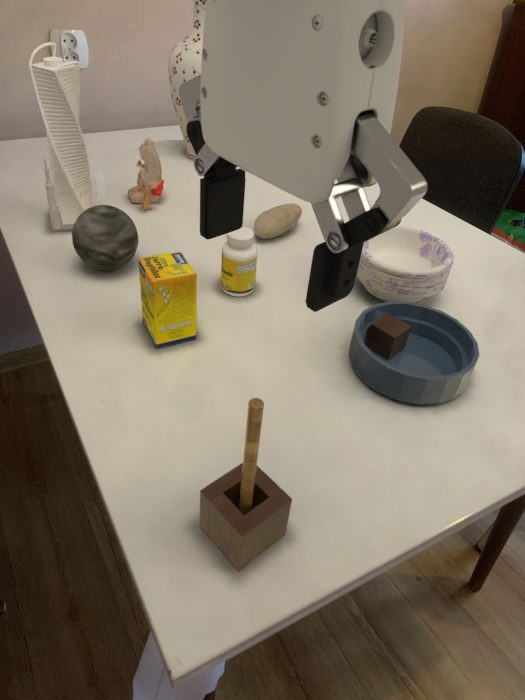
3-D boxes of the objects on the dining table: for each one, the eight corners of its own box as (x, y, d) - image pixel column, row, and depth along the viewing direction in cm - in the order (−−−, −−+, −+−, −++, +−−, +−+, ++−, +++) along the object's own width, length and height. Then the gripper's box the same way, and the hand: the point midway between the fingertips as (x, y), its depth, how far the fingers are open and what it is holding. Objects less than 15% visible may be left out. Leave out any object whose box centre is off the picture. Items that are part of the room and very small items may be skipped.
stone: (242, 226, 96) (274, 186, 101) (255, 254, 100) (284, 214, 106) (269, 226, 92) (300, 185, 98) (281, 255, 96) (310, 214, 102)
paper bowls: (331, 270, 92) (339, 228, 87) (407, 259, 97) (418, 219, 92) (376, 323, 81) (389, 278, 76) (458, 308, 86) (475, 265, 81)
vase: (198, 172, 119) (198, -18, 96) (156, 149, 127) (148, -31, 105) (252, 158, 128) (265, -19, 105) (210, 137, 136) (213, -31, 114)
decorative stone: (92, 246, 91) (84, 189, 85) (148, 255, 91) (145, 199, 84) (65, 276, 84) (54, 217, 77) (127, 287, 83) (121, 228, 77)
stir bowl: (488, 372, 74) (502, 345, 71) (420, 427, 66) (432, 398, 62) (395, 315, 83) (403, 288, 80) (324, 357, 74) (330, 328, 71)
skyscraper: (52, 210, 100) (21, 39, 82) (97, 208, 102) (77, 41, 84) (51, 232, 94) (18, 53, 76) (100, 229, 96) (78, 54, 78)
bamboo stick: (251, 531, 53) (267, 404, 41) (242, 538, 52) (255, 410, 41) (243, 523, 54) (257, 395, 42) (234, 529, 53) (245, 401, 41)
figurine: (126, 190, 109) (131, 129, 102) (160, 195, 111) (167, 135, 104) (127, 209, 102) (133, 144, 95) (163, 213, 104) (171, 150, 97)
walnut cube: (404, 348, 76) (411, 326, 73) (388, 360, 74) (395, 338, 71) (381, 334, 78) (387, 312, 75) (364, 346, 76) (370, 323, 73)
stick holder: (285, 534, 53) (292, 499, 49) (238, 571, 50) (242, 536, 46) (245, 494, 56) (249, 457, 52) (199, 526, 53) (199, 490, 49)
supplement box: (142, 324, 76) (136, 257, 69) (181, 315, 79) (180, 249, 72) (155, 350, 72) (151, 281, 65) (197, 339, 75) (197, 272, 68)
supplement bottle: (216, 281, 86) (217, 225, 80) (248, 276, 88) (252, 222, 82) (226, 299, 83) (229, 243, 76) (259, 295, 84) (264, 239, 78)
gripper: (544, -64, 20) (419, 311, 31) (242, -99, 29) (229, 199, 40) (428, -73, 16) (332, 363, 27) (119, -111, 25) (142, 225, 36)
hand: (270, 264), depth 33 cm, fingers open, 9 cm apart
